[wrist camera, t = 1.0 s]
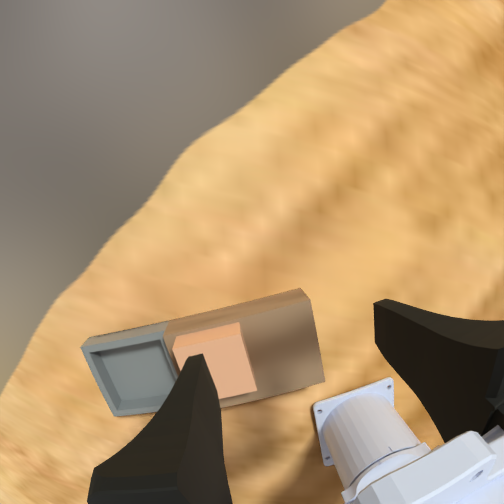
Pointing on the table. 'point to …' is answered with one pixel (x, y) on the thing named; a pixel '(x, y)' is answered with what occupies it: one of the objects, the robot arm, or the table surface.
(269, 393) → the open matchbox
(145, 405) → the tray
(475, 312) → the table surface
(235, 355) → the peach flat square block
